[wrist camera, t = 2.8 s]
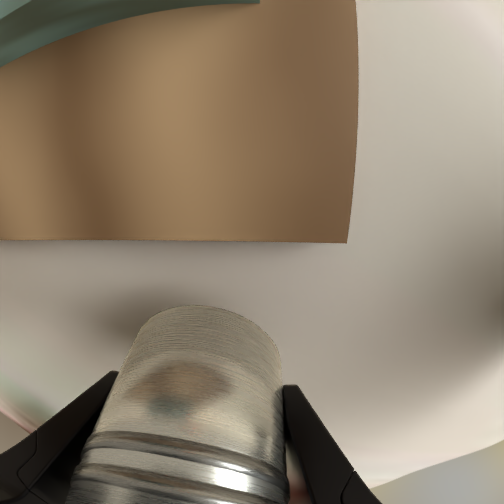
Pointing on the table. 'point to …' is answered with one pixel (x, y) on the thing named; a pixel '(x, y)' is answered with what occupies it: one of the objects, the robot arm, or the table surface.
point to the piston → (190, 417)
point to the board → (178, 119)
